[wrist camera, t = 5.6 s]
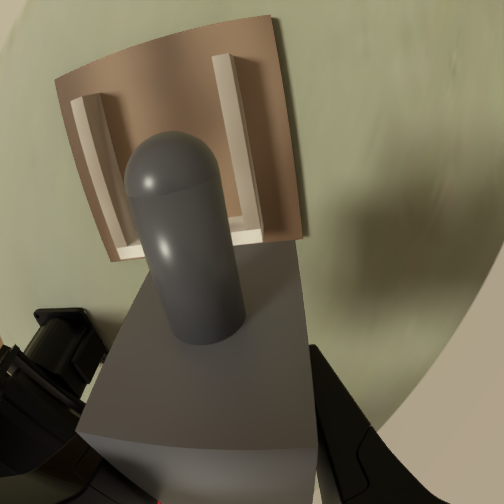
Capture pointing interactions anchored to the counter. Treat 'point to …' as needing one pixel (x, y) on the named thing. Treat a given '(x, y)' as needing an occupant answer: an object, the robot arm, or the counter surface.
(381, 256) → the counter surface
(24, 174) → the counter surface
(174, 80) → the holder
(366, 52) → the counter surface
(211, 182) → the plug
